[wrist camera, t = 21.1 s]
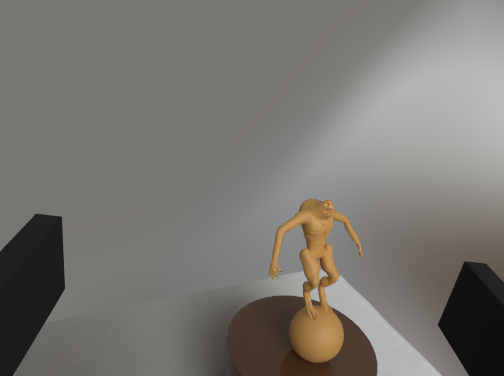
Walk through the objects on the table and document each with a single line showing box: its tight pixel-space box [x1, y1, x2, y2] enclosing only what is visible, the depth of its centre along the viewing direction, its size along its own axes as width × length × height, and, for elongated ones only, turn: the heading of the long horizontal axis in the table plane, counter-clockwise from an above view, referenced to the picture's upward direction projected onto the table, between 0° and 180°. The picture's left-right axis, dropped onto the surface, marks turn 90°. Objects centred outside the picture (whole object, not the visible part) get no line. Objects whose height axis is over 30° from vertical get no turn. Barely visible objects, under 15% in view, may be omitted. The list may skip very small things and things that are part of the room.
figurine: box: [269, 199, 362, 363], centre depth 30 cm, size 8×6×12 cm
